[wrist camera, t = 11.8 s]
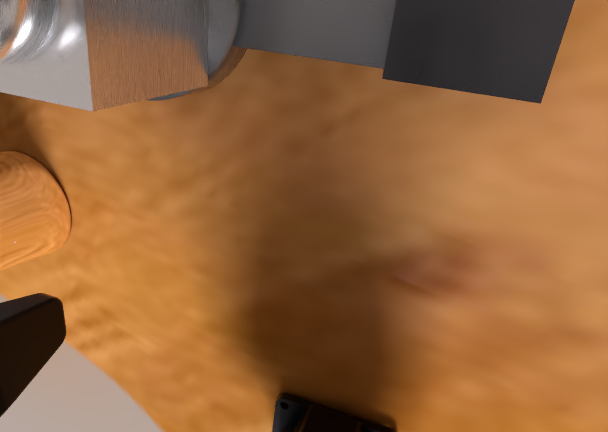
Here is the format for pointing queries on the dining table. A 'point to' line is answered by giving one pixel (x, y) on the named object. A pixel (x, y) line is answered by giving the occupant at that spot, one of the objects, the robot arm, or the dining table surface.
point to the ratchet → (400, 39)
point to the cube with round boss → (102, 50)
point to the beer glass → (29, 210)
